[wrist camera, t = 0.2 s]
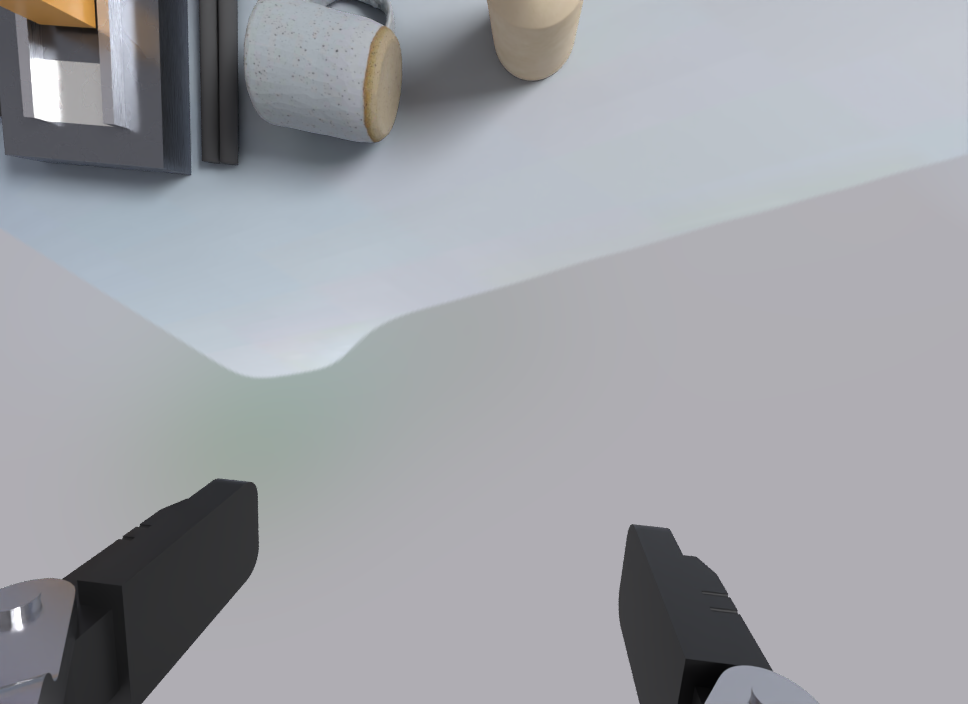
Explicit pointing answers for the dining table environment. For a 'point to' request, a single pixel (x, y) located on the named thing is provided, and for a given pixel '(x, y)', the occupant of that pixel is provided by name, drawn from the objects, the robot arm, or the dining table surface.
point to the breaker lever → (55, 11)
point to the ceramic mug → (323, 68)
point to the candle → (534, 34)
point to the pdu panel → (99, 88)
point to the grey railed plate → (218, 80)
